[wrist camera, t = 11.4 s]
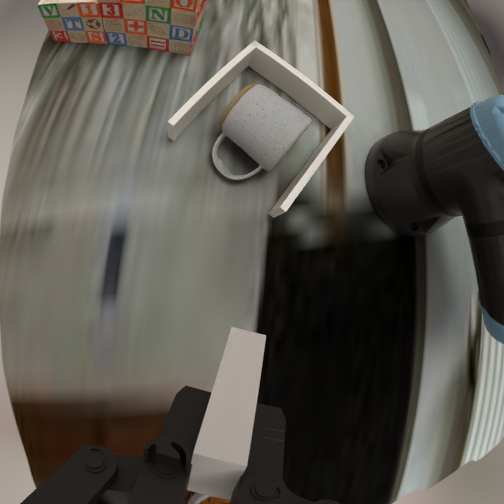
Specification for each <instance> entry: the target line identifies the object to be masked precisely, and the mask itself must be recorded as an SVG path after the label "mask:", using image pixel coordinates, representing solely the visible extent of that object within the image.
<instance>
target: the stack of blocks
mask: <svg viewBox="0 0 504 504" xmlns="http://www.w3.org/2000/svg"><path fill="white" fill-rule="evenodd" d="M205 5H206V0H41V1H40V2H39V3H38V8H39V10H40V13H41V15H42V17H43V18H44V20H45V22H46V25H47V27H48V29H49V30H50V33H51V36H52V38H53V40H54V42H75V43H95V44H113V45H124V46H134V47H142V48H148V49H154V50H161V51H167V52H172V53H178V54H183V55H190V54H191V51H192V49H193V46H194V44H195V41H196V38H197V36H198V33H199V31H200V28H201V26H202V21H203V15H204V10H205Z"/></svg>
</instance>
